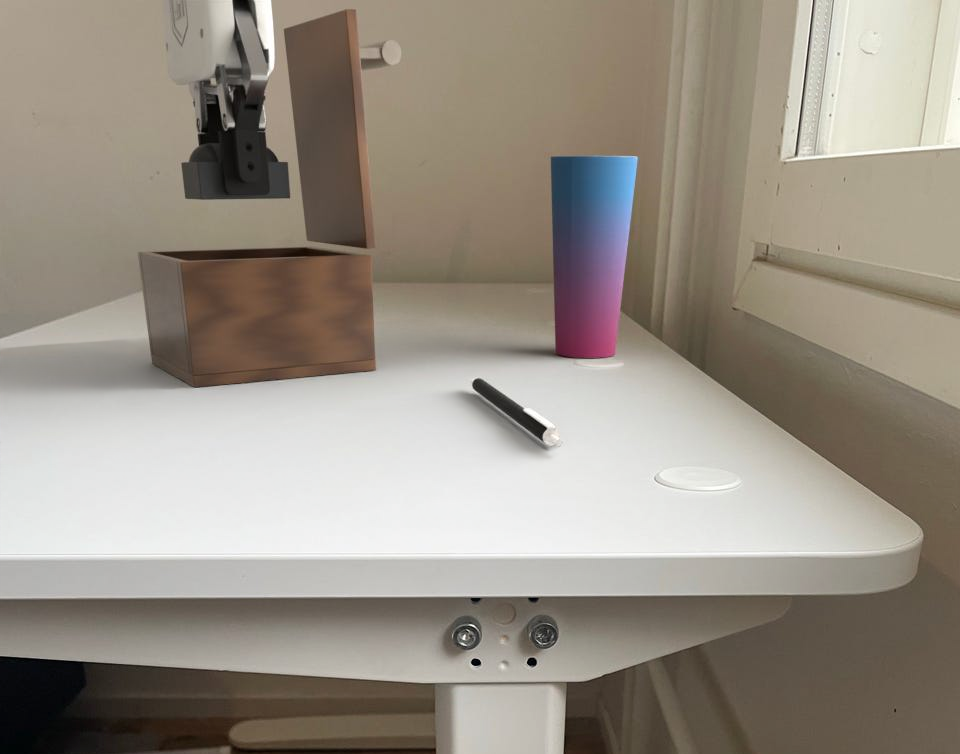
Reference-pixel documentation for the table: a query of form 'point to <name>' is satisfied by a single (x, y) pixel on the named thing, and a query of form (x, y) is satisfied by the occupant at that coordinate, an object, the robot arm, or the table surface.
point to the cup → (590, 250)
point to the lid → (334, 125)
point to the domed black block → (208, 180)
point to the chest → (258, 313)
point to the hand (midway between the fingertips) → (236, 191)
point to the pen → (519, 413)
